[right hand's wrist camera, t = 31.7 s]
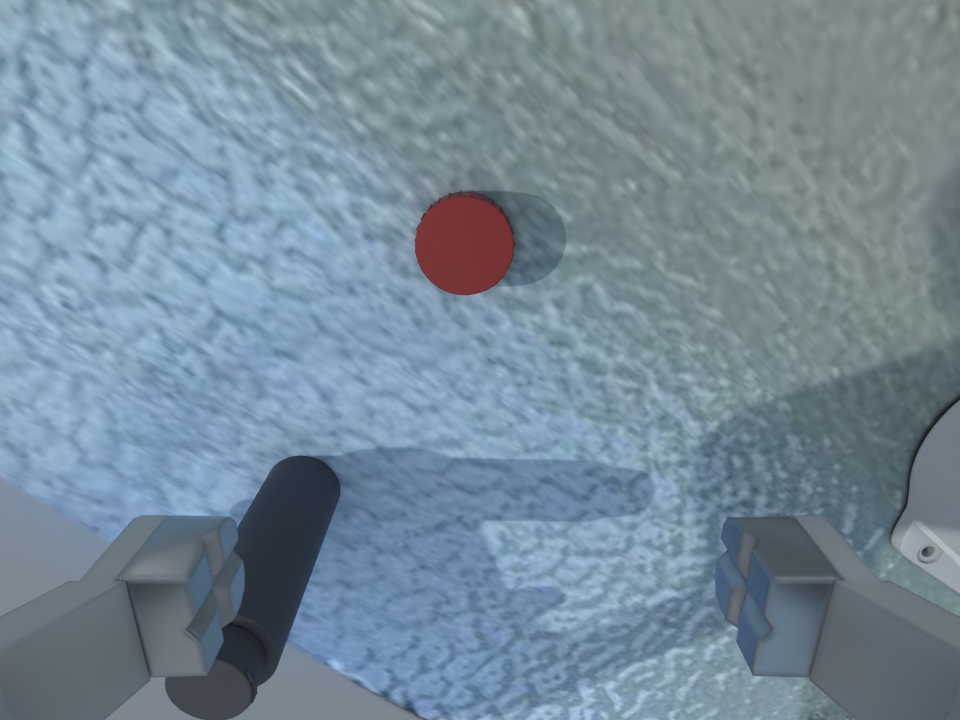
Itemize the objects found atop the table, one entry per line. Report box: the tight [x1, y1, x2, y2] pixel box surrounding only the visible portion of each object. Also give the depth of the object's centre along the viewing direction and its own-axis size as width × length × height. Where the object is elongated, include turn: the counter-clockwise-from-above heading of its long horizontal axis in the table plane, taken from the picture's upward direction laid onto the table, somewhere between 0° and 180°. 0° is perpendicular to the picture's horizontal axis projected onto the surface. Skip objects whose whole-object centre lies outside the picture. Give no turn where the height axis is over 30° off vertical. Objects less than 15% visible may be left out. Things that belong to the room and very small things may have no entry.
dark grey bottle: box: [165, 456, 340, 720], centre depth 34 cm, size 5×5×16 cm
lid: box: [415, 191, 515, 295], centre depth 34 cm, size 5×5×2 cm
